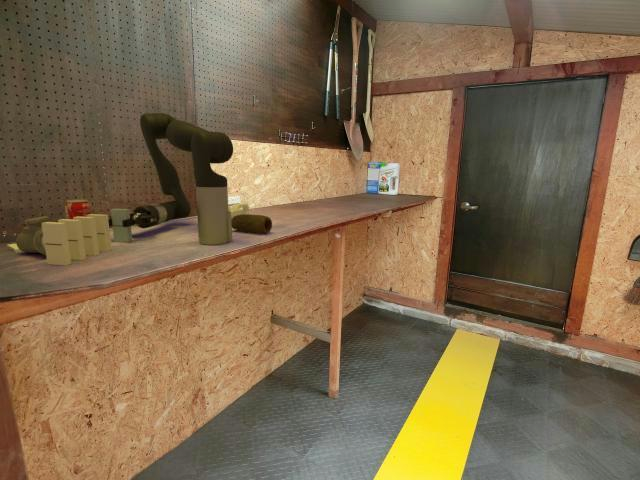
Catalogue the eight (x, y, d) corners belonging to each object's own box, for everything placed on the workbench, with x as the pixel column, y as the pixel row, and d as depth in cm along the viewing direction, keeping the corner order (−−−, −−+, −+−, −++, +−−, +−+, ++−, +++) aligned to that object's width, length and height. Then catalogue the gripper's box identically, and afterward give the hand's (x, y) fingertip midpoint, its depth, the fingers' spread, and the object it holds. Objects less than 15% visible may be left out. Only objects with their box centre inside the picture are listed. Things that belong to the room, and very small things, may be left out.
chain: (241, 215, 167) (241, 202, 166) (252, 216, 165) (252, 203, 164) (197, 225, 140) (196, 210, 139) (210, 227, 138) (209, 211, 136)
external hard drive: (7, 249, 101) (59, 242, 110) (15, 254, 96) (69, 246, 105) (6, 244, 100) (58, 237, 110) (14, 249, 95) (68, 241, 105)
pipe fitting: (76, 251, 97) (65, 213, 94) (45, 260, 89) (32, 220, 87) (47, 251, 101) (36, 215, 99) (16, 260, 94) (2, 222, 91)
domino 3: (82, 253, 96) (78, 216, 94) (99, 254, 95) (95, 217, 93) (77, 254, 95) (73, 217, 93) (94, 255, 94) (90, 218, 92)
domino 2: (68, 257, 92) (63, 219, 90) (86, 258, 91) (81, 219, 89) (63, 259, 90) (57, 220, 88) (80, 260, 90) (75, 220, 87)
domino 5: (117, 240, 112) (114, 208, 110) (132, 241, 111) (129, 209, 109) (114, 241, 110) (110, 209, 108) (128, 242, 110) (125, 209, 107)
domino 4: (95, 249, 101) (91, 214, 98) (111, 250, 100) (107, 214, 98) (91, 250, 99) (86, 214, 97) (107, 251, 98) (103, 215, 96)
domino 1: (53, 262, 88) (47, 221, 85) (71, 263, 87) (65, 222, 85) (47, 264, 86) (41, 223, 84) (65, 265, 85) (59, 223, 83)
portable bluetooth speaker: (274, 232, 129) (274, 214, 127) (264, 236, 123) (263, 217, 121) (240, 229, 135) (239, 211, 133) (228, 232, 128) (227, 213, 127)
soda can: (66, 237, 114) (60, 200, 112) (91, 234, 119) (86, 198, 117) (72, 241, 110) (66, 202, 107) (98, 238, 115) (93, 200, 112)
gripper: (130, 203, 124) (92, 210, 107) (168, 205, 121) (135, 212, 105) (132, 225, 125) (95, 234, 109) (170, 227, 123) (138, 237, 106)
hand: (115, 223), depth 107 cm, fingers closed on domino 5, 5 cm apart
